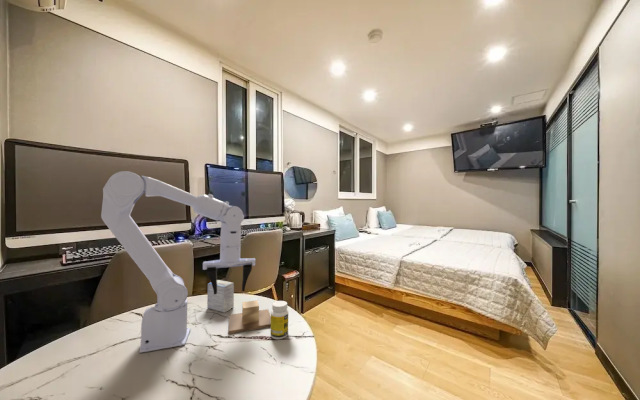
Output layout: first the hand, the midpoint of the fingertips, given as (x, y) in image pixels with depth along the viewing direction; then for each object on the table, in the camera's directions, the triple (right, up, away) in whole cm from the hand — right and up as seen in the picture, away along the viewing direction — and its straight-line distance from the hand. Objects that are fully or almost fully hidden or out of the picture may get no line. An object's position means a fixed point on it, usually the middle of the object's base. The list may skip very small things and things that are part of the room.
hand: (229, 291), depth 68 cm
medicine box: (-7, -10, +10) cm, 16 cm away
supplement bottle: (+16, -10, -6) cm, 20 cm away
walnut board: (+6, -10, +1) cm, 11 cm away
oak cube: (+6, -9, +1) cm, 11 cm away
